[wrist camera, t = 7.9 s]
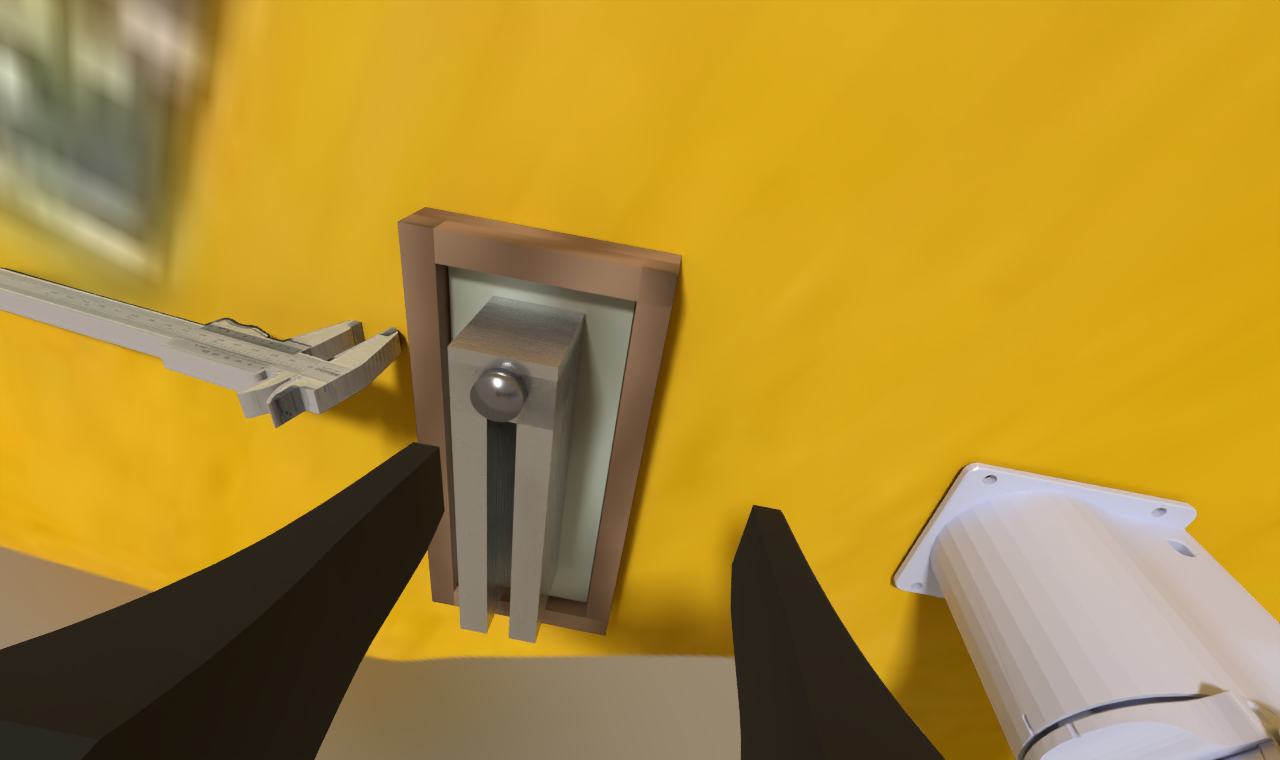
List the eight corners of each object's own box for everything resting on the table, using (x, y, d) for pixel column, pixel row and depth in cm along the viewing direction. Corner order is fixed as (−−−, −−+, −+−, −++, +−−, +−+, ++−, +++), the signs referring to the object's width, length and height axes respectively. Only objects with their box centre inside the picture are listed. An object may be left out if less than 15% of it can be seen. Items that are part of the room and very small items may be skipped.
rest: (681, 255, 19) (678, 274, 17) (611, 602, 30) (605, 635, 28) (425, 207, 19) (397, 221, 17) (448, 570, 30) (432, 601, 28)
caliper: (406, 324, 22) (309, 408, 17) (409, 347, 23) (316, 436, 17) (-51, 255, 23) (-282, 315, 18) (-37, 279, 23) (-256, 344, 18)
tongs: (585, 312, 19) (553, 377, 15) (557, 569, 27) (531, 656, 23) (493, 295, 19) (438, 355, 15) (491, 556, 27) (455, 640, 23)
